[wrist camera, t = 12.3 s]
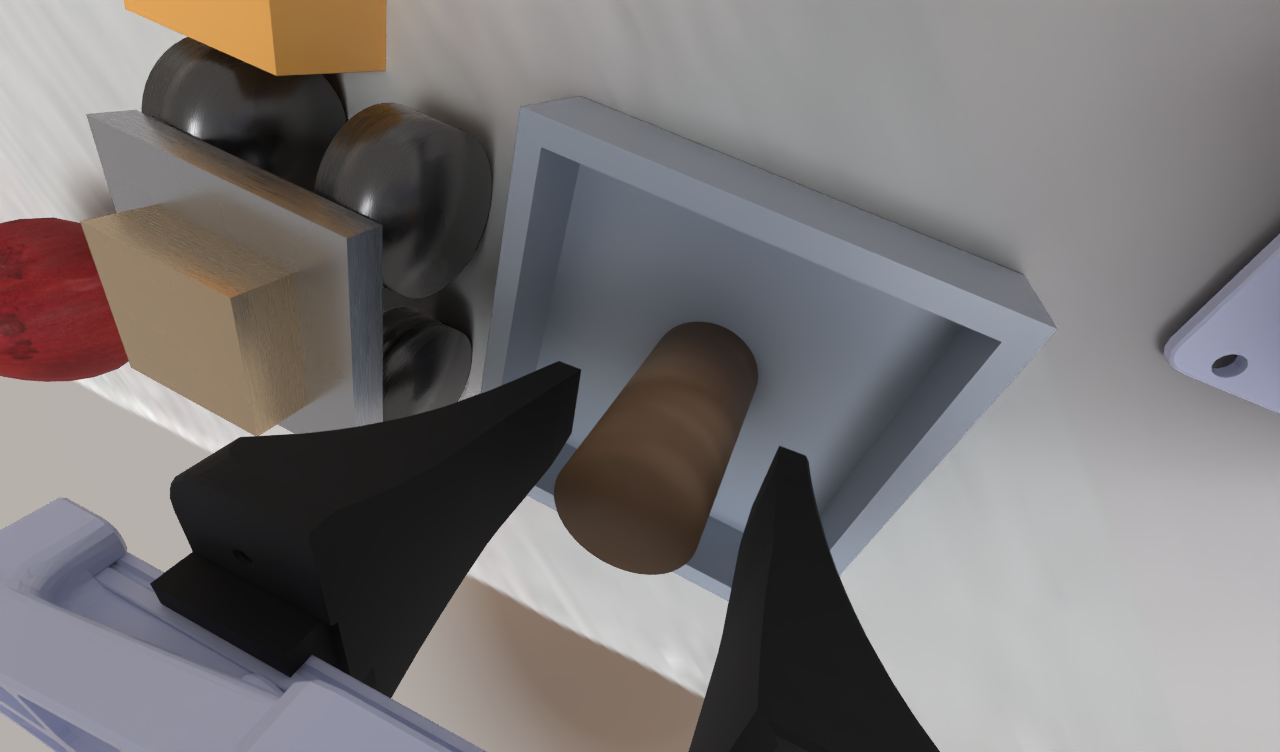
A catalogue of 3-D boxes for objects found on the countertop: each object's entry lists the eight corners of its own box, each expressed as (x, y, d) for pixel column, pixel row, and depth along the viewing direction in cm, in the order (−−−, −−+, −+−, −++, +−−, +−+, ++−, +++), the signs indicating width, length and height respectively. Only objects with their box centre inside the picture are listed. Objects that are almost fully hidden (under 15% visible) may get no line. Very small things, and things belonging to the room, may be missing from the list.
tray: (1024, 275, 12) (1057, 329, 10) (799, 560, 18) (788, 632, 16) (580, 96, 13) (520, 107, 11) (516, 418, 20) (470, 466, 18)
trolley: (503, 121, 14) (270, 169, 9) (468, 408, 21) (316, 542, 15) (290, 31, 15) (-40, 24, 10) (316, 331, 21) (121, 430, 16)
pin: (772, 341, 14) (716, 491, 9) (741, 429, 16) (680, 595, 11) (664, 307, 15) (559, 430, 10) (645, 395, 16) (548, 537, 12)
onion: (108, 165, 21) (-229, 218, 15) (227, 268, 22) (-49, 363, 15) (107, 267, 25) (-165, 345, 18) (210, 354, 25) (-20, 460, 19)
